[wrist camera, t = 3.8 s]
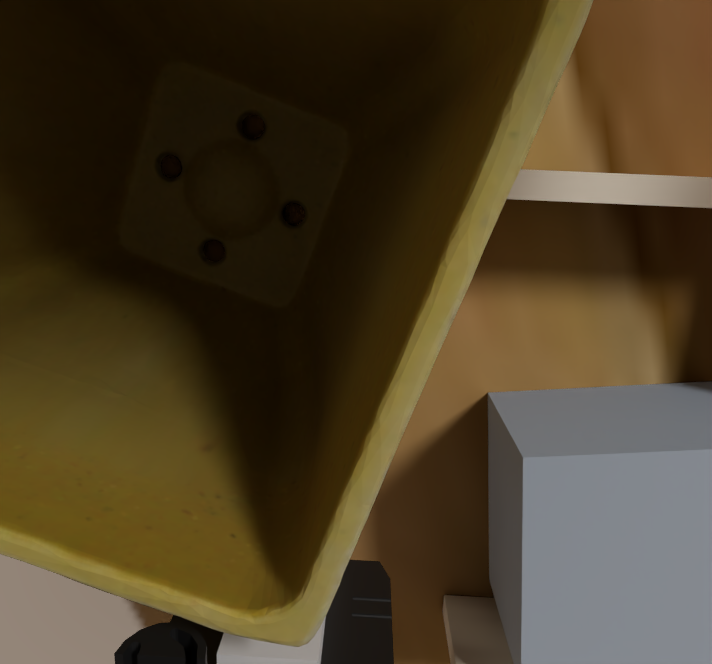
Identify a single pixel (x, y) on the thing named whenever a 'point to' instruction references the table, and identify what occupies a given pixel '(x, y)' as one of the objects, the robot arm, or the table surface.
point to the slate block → (602, 523)
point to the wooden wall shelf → (480, 614)
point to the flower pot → (240, 275)
